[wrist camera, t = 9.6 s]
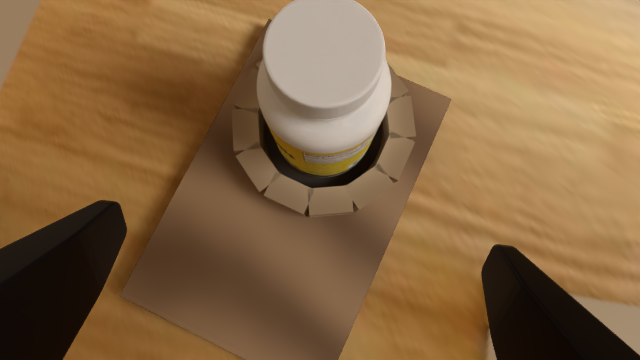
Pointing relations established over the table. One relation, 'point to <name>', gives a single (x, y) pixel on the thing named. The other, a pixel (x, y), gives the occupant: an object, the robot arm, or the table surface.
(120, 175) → the table surface
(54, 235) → the robot arm
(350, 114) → the supplement bottle
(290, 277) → the board
